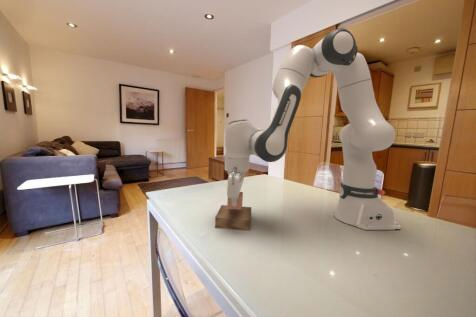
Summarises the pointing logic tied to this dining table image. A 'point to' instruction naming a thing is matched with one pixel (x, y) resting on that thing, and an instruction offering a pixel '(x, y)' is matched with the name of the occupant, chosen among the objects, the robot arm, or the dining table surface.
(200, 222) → the dining table surface
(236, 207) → the terracotta cube
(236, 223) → the walnut board
